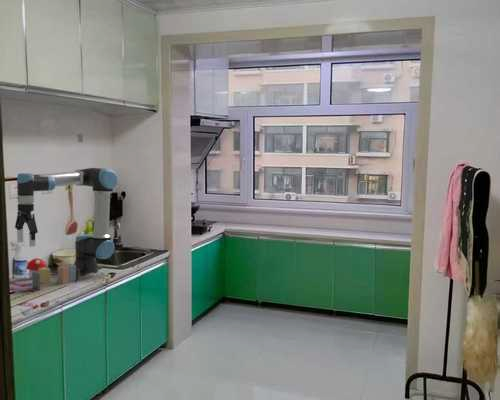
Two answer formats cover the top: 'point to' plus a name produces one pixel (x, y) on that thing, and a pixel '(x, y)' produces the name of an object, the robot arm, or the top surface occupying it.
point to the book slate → (72, 272)
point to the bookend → (35, 282)
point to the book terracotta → (63, 274)
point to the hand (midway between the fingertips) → (26, 244)
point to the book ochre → (44, 274)
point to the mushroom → (35, 266)
